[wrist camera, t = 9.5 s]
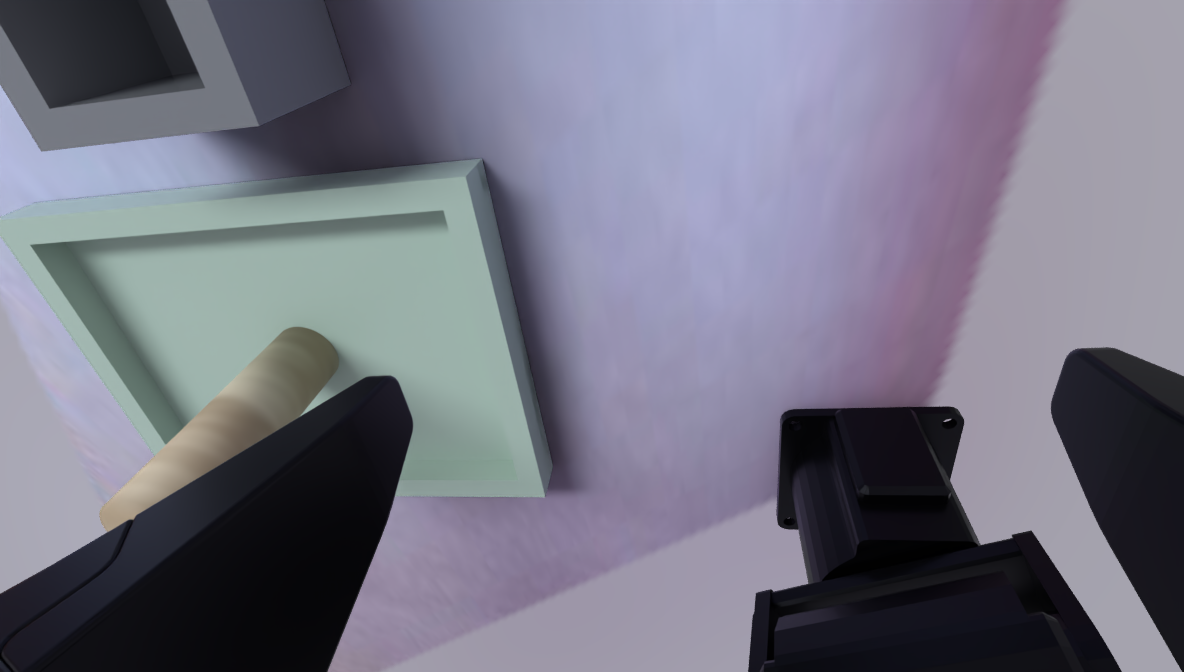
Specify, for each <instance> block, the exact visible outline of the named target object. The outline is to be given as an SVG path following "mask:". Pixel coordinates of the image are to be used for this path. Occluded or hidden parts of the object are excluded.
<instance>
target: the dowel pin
mask: <svg viewBox="0 0 1184 672" xmlns="http://www.w3.org/2000/svg"><path fill="white" fill-rule="evenodd" d="M338 366H339V358H338V354H337V352H336V350H335V348H334V347H333V345H332V344H331V343H330V342H329V341H328V340H327V339H326V338H325V337H324V336H322V335H321V334H319V333H318V332H316V331H314V330H311V329H308V328H304V327H291V328H288V329H285V330H284V331H282V332H281V333H280V334H279V335H278V336H277V337H276V338H275V339H274V340H273V341H272V342H271V343H270V344H269V345H268V346H267V347H266V348H265V349H264V350H263V351H262V352H261V353H260V354H259V355H258V356H257V357H256V358H255V359H254V360H253V361H252V362H251V363H250V364H248V365H247V366H246V367H245V368H244V369H243V370H242V371H241V372H240V373H239V374H238V375H237V376H236V377H235V378H234V379H233V380H232V381H231V382H230V383H229V384H228V385H227V386H226V387H225V388H224V389H223V390H222V391H221V392H220V393H219V394H218V395H217V396H216V397H215V398H214V399H213V400H212V401H210V402H209V403H208V404H207V405H206V406H205V407H204V408H203V409H202V410H201V411H200V412H199V413H198V414H197V415H196V416H195V417H194V418H193V419H192V420H191V421H190V422H189V423H188V424H187V425H186V426H185V427H184V428H183V429H182V430H181V431H180V432H179V433H178V434H177V435H176V436H175V437H174V438H172V439H171V440H170V441H169V442H168V443H167V444H166V445H165V446H164V447H163V448H162V449H161V450H160V451H159V452H158V453H157V454H156V455H155V456H154V457H153V458H152V459H151V460H150V461H149V462H148V463H147V464H146V465H145V466H144V467H143V468H142V469H141V470H140V471H139V472H138V473H137V474H135V475H134V476H133V477H132V478H131V479H130V480H129V481H128V482H127V483H126V484H125V485H124V486H123V487H122V488H121V489H120V490H119V491H118V492H117V493H116V494H115V495H114V496H113V497H112V498H111V499H110V500H109V501H108V502H107V503H106V504H105V505H104V506H103V507H102V508H101V510H100V520H101V523H102V525H103V526H104V528H105V529H106V531H107V532H109V531H110V530H112V529H114V528H115V527H117V526H119V525H120V524H122V523H124V522H125V521H127V520H129V519H133V520H134V518H135V516H136V515H137V514H139V513H141V512H142V511H144V510H146V509H147V508H149V507H151V506H152V505H154V504H155V503H157V502H159V501H160V500H162V499H164V498H165V497H167V496H169V495H170V494H172V493H174V492H175V491H177V490H179V489H180V488H182V487H184V486H185V485H187V484H189V483H190V482H192V481H194V480H195V479H197V478H199V477H200V476H202V475H204V474H205V473H207V472H209V471H210V470H212V469H214V468H215V467H217V466H219V465H220V464H222V463H224V462H225V461H227V460H229V459H230V458H232V457H233V456H235V455H237V454H238V453H240V452H242V451H243V450H245V449H247V448H248V447H250V446H252V445H253V444H255V443H257V442H258V441H260V440H262V439H263V438H265V437H267V436H268V435H270V434H272V433H273V432H275V431H277V430H278V429H280V428H282V427H283V426H285V425H287V424H288V423H290V422H292V421H293V420H295V419H297V418H298V417H300V416H301V414H302V413H303V412H304V411H305V410H306V408H307V407H308V406H309V405H310V403H311V402H312V401H313V400H314V398H315V397H316V396H317V395H318V393H319V392H320V391H321V390H322V389H323V387H324V386H325V385H326V384H327V382H328V381H329V380H330V379H331V377H332V376H333V375H334V374H335V372H336V371H337V369H338Z"/></svg>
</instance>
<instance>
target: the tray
mask: <svg viewBox="0 0 1184 672" xmlns="http://www.w3.org/2000/svg"><path fill="white" fill-rule="evenodd" d="M0 236H1V238H2V239H3V241H4V242H5V244H6V245H7V246H8V248H9V249H10V251H11V252H12V254H13V255H14V256H15V258H16V259H17V261H18V262H19V264H20V265H21V266H22V268H23V269H24V271H25V272H26V274H27V275H28V276H29V278H30V279H31V281H32V282H33V283H34V285H35V286H36V288H37V289H38V291H39V292H40V293H41V295H42V296H43V298H44V299H45V301H46V302H47V303H48V305H49V306H50V308H51V309H52V311H53V312H54V313H55V315H56V316H57V318H58V319H59V321H60V322H61V323H62V325H63V326H64V328H65V329H66V331H67V332H68V333H69V335H70V336H71V338H72V339H73V341H74V342H75V343H76V345H77V346H78V348H79V349H80V351H81V352H82V353H83V355H84V356H85V358H86V359H87V360H88V362H89V363H90V365H91V366H92V368H93V369H94V370H95V372H96V373H97V375H98V376H99V378H100V379H101V380H102V382H103V383H104V385H105V386H106V388H107V389H108V390H109V392H110V393H111V395H112V396H113V398H114V399H115V400H116V402H117V403H118V405H119V406H120V408H121V409H122V410H123V412H124V413H125V415H126V416H127V418H128V419H129V420H130V422H131V423H132V425H133V426H134V428H135V429H136V430H137V432H138V433H139V435H140V436H141V437H142V439H143V440H144V442H145V443H146V445H147V446H148V447H149V449H150V450H151V452H152V453H153V455H154V456H155V455H156V454H157V453H158V452H159V451H160V450H161V449H162V448H163V447H164V446H165V445H166V444H167V443H168V442H169V441H170V440H171V439H172V438H174V437H175V436H176V435H177V434H178V433H179V432H180V431H181V430H182V429H183V428H184V427H185V426H186V425H187V424H188V423H189V422H190V421H191V420H192V419H193V418H194V417H195V416H196V415H197V414H198V413H199V412H200V411H201V410H202V409H203V408H204V407H205V406H206V405H207V404H208V403H209V402H210V401H212V400H213V399H214V398H215V397H216V396H217V395H218V394H219V393H220V392H221V391H222V390H223V389H224V388H225V387H226V386H227V385H228V384H229V383H230V382H231V381H232V380H233V379H234V378H235V377H236V376H237V375H238V374H239V373H240V372H241V371H242V370H243V369H244V368H245V367H246V366H247V365H248V364H250V363H251V362H252V361H253V360H254V359H255V358H256V357H257V356H258V355H259V354H260V353H261V352H262V351H263V350H264V349H265V348H266V347H267V346H268V345H269V344H270V343H271V342H272V341H273V340H274V339H275V338H276V337H277V336H278V335H279V334H280V333H281V332H282V331H284V330H285V329H288V328H291V327H304V328H308V329H311V330H314V331H316V332H318V333H319V334H321V335H322V336H324V337H325V338H326V339H327V340H328V341H329V342H330V343H331V344H332V345H333V347H334V348H335V350H336V352H337V354H338V358H339V366H338V369H337V371H336V372H335V374H334V375H333V376H332V377H331V379H330V380H329V381H328V382H327V384H326V385H325V386H324V387H323V389H322V390H321V391H320V392H319V393H318V395H317V396H316V397H315V398H314V400H313V401H312V402H311V403H310V405H309V406H308V407H307V408H306V410H305V411H304V412H303V413H302V414H301V416H302V415H303V414H305V413H307V412H308V411H310V410H312V409H313V408H315V407H316V406H318V405H320V404H321V403H323V402H325V401H326V400H328V399H330V398H331V397H333V396H335V395H336V394H338V393H340V392H341V391H343V390H345V389H346V388H348V387H350V386H351V385H353V384H355V383H356V382H358V381H360V380H361V379H363V378H365V377H368V376H381V375H391V376H393V377H395V378H396V379H397V380H398V382H399V384H400V386H401V389H402V392H403V394H404V397H405V399H406V402H407V404H408V407H409V410H410V412H411V415H412V418H413V433H412V437H411V440H410V444H409V447H408V451H407V455H406V458H405V462H404V465H403V469H402V472H401V476H400V480H399V483H398V487H397V490H396V494H395V496H442V497H546V493H547V489H548V485H549V481H550V477H551V473H552V469H553V464H552V460H551V456H550V451H549V447H548V442H547V438H546V434H545V429H544V425H543V421H542V416H541V412H540V408H539V403H538V399H537V395H536V390H535V386H534V382H533V377H532V373H531V369H530V364H529V360H528V356H527V351H526V347H525V343H524V338H523V334H522V330H521V325H520V321H519V317H518V312H517V308H516V304H515V299H514V295H513V291H512V286H511V282H510V278H509V273H508V269H507V265H506V260H505V256H504V252H503V247H502V243H501V239H500V234H499V230H498V226H497V221H496V217H495V213H494V208H493V204H492V200H491V195H490V191H489V186H488V182H487V178H486V173H485V169H484V165H483V160H482V159H472V160H462V161H451V162H441V163H431V164H421V165H411V166H401V167H391V168H381V169H370V170H360V171H350V172H340V173H330V174H320V175H310V176H299V177H289V178H279V179H269V180H259V181H249V182H239V183H229V184H218V185H208V186H198V187H188V188H178V189H168V190H158V191H147V192H137V193H127V194H117V195H107V196H97V197H87V198H76V199H66V200H56V201H46V202H36V203H32V204H30V205H27V206H25V207H23V208H20V209H18V210H15V211H13V212H10V213H8V214H6V215H3V216H1V217H0Z"/></svg>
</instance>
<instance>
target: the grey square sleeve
mask: <svg viewBox="0 0 1184 672" xmlns="http://www.w3.org/2000/svg"><path fill="white" fill-rule="evenodd" d="M0 85H1V86H2V88H3V90H4V91H5V93H6V95H7V96H8V98H9V99H10V101H11V103H12V104H13V106H14V108H15V109H16V111H17V113H18V114H19V116H20V117H21V119H22V121H23V122H24V124H25V126H26V127H27V129H28V130H29V132H30V134H31V135H32V137H33V139H34V140H35V142H36V143H37V145H38V147H39V148H40V150H41V151H50V150H58V149H67V148H76V147H84V146H93V145H101V144H110V143H118V142H127V141H135V140H144V139H153V138H161V137H170V136H178V135H187V134H195V133H204V132H212V131H221V130H230V129H238V128H247V127H255V126H260V125H263V124H265V123H267V122H269V121H272V120H274V119H276V118H278V117H281V116H283V115H285V114H287V113H289V112H292V111H294V110H296V109H298V108H301V107H303V106H305V105H307V104H309V103H312V102H314V101H316V100H318V99H321V98H323V97H325V96H327V95H330V94H332V93H334V92H336V91H338V90H341V89H343V88H345V87H347V86H350V85H351V82H350V79H349V76H348V73H347V70H346V67H345V64H344V61H343V58H342V55H341V51H340V48H339V45H338V42H337V39H336V36H335V33H334V30H333V27H332V24H331V21H330V18H329V14H328V11H327V8H326V5H325V2H324V0H0Z"/></svg>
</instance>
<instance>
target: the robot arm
mask: <svg viewBox="0 0 1184 672" xmlns="http://www.w3.org/2000/svg"><path fill="white" fill-rule="evenodd" d="M1051 414H1052V418H1053V421H1054V424H1055V426H1056V428H1057V431H1058V433H1059V435H1060V438H1061V440H1062V442H1063V445H1064V447H1065V449H1066V452H1067V454H1068V456H1069V459H1070V461H1071V463H1072V466H1073V468H1074V470H1075V473H1076V475H1077V477H1078V480H1079V482H1080V484H1081V487H1082V489H1083V491H1084V494H1085V496H1086V498H1087V501H1088V503H1089V505H1090V508H1091V510H1092V512H1093V514H1094V516H1095V518H1096V521H1097V522H1098V525H1099V527H1100V529H1101V530H1102V532H1103V534H1104V536H1105V538H1106V540H1107V542H1108V543H1109V545H1110V547H1111V549H1112V550H1113V552H1114V554H1115V556H1116V557H1117V559H1118V561H1119V563H1120V564H1121V566H1122V568H1123V570H1124V571H1125V573H1126V575H1127V577H1128V578H1129V580H1130V582H1131V584H1132V585H1133V587H1134V589H1135V591H1136V592H1137V594H1138V596H1139V597H1140V599H1141V601H1142V603H1143V604H1144V606H1145V608H1146V610H1147V611H1148V613H1149V615H1150V617H1151V618H1152V620H1153V622H1154V623H1155V625H1156V627H1157V629H1158V630H1159V632H1160V634H1161V636H1162V637H1163V639H1164V641H1165V643H1166V644H1167V646H1168V648H1169V649H1170V651H1171V653H1172V655H1173V657H1174V658H1175V660H1176V662H1177V663H1178V665H1179V667H1180V669H1181V670H1182V672H1184V376H1182V375H1179V374H1177V373H1175V372H1172V371H1170V370H1167V369H1165V368H1162V367H1160V366H1157V365H1155V364H1152V363H1150V362H1147V361H1145V360H1143V359H1140V358H1138V357H1135V356H1133V355H1130V354H1128V353H1125V352H1123V351H1120V350H1118V349H1115V348H1108V347H1106V348H1081V349H1075V350H1073V351H1072V352H1070V353H1069V355H1068V356H1067V357H1066V359H1065V362H1064V365H1063V368H1062V371H1061V374H1060V377H1059V380H1058V383H1057V386H1056V389H1055V392H1054V395H1053V398H1052V402H1051ZM946 419H951V420H950V421H947V422H943V421H945V420H946ZM792 421H799V422H798V423H797V424H790V423H791V422H792ZM963 426H964V419H963V417H962V416H961V414H960V412H959V411H958V409H956V408H954V407H895V408H841V409H793V410H788V411H786V412H784V414H783V415H782V416H781V419H780V440H779V465H778V489H777V521H778V525H779V526H780V527H782V528H784V529H797V530H799V535H800V541H801V546H802V551H803V556H804V562H805V567H806V573H807V578H808V583H809V584H806V585H801V586H797V587H793V588H788V589H784V590H779V591H775V592H773V591H772V590H766V591H762V592H758V593H756V600H755V612H754V614H753V620H752V632H751V644H750V656H749V669H748V672H1122V671H1121V670H1120V668H1119V666H1118V664H1117V662H1116V661H1115V659H1114V657H1113V655H1112V654H1111V652H1110V650H1109V649H1108V647H1107V645H1106V643H1105V642H1104V640H1103V638H1102V637H1101V636H1100V634H1099V632H1098V630H1097V629H1096V627H1095V626H1094V624H1093V622H1092V621H1091V620H1090V618H1089V616H1088V615H1087V613H1086V612H1085V611H1084V609H1083V607H1082V606H1081V604H1080V603H1079V601H1078V600H1077V598H1076V597H1075V595H1074V594H1073V592H1072V591H1071V589H1070V588H1069V586H1068V585H1067V583H1066V582H1065V580H1064V579H1063V577H1062V576H1061V574H1060V573H1059V571H1058V570H1057V568H1056V567H1055V565H1054V564H1053V562H1052V561H1051V559H1050V558H1049V556H1048V555H1047V553H1046V552H1045V550H1044V549H1043V547H1042V546H1041V544H1040V543H1039V541H1038V540H1037V538H1036V537H1035V535H1034V534H1033V532H1032V531H1027V532H1023V533H1018V534H1014V535H1012V537H1013V538H1011V539H1006V540H1002V541H997V542H993V543H988V544H984V545H980V543H979V541H978V538H977V536H976V534H975V532H974V530H973V528H972V526H971V524H970V522H969V520H968V518H967V516H966V513H965V511H964V509H963V507H962V505H961V503H960V501H959V499H958V497H957V495H956V493H955V491H954V489H953V486H952V484H951V482H950V478H951V474H952V470H953V466H954V462H955V458H956V454H957V450H958V446H959V442H960V438H961V434H962V430H963ZM412 433H413V418H412V415H411V412H410V410H409V407H408V404H407V402H406V399H405V397H404V394H403V392H402V389H401V386H400V384H399V382H398V380H397V379H396V378H395V377H393V376H391V375H381V376H368V377H365V378H363V379H361V380H360V381H358V382H356V383H355V384H353V385H351V386H350V387H348V388H346V389H345V390H343V391H341V392H340V393H338V394H336V395H335V396H333V397H331V398H330V399H328V400H326V401H325V402H323V403H321V404H320V405H318V406H316V407H315V408H313V409H312V410H310V411H308V412H307V413H305V414H303V415H302V416H300V417H298V418H297V419H295V420H293V421H292V422H290V423H288V424H287V425H285V426H283V427H282V428H280V429H278V430H277V431H275V432H273V433H272V434H270V435H268V436H267V437H265V438H263V439H262V440H260V441H258V442H257V443H255V444H253V445H252V446H250V447H248V448H247V449H245V450H243V451H242V452H240V453H238V454H237V455H235V456H233V457H232V458H230V459H229V460H227V461H225V462H224V463H222V464H220V465H219V466H217V467H215V468H214V469H212V470H210V471H209V472H207V473H205V474H204V475H202V476H200V477H199V478H197V479H195V480H194V481H192V482H190V483H189V484H187V485H185V486H184V487H182V488H180V489H179V490H177V491H175V492H174V493H172V494H170V495H169V496H167V497H165V498H164V499H162V500H160V501H159V502H157V503H155V504H154V505H152V506H151V507H149V508H147V509H146V510H144V511H142V512H141V513H139V514H137V515H136V516H135V518H134V520H133V519H129V520H127V521H125V522H124V523H122V524H120V525H119V526H117V527H115V528H114V529H112V530H110V531H109V532H107V533H106V534H104V535H102V536H101V537H99V538H97V539H95V540H94V541H92V542H90V543H89V544H87V545H85V546H84V547H82V548H80V549H78V550H77V551H75V552H73V553H72V554H70V555H68V556H66V557H65V558H63V559H61V560H60V561H58V562H56V563H55V564H53V565H51V566H49V567H47V568H46V569H44V570H42V571H40V572H38V573H37V574H35V575H33V576H31V577H29V578H28V579H26V580H24V581H22V582H21V583H19V584H17V585H15V586H13V587H12V588H10V589H8V590H6V591H4V592H3V593H1V594H0V672H328V669H329V667H330V664H331V662H332V659H333V657H334V654H335V652H336V649H337V647H338V644H339V642H340V639H341V637H342V634H343V632H344V629H345V627H346V624H347V622H348V619H349V617H350V614H351V612H352V609H353V607H354V604H355V602H356V599H357V597H358V594H359V592H360V589H361V587H362V584H363V582H364V579H365V577H366V574H367V572H368V569H369V567H370V564H371V562H372V559H373V557H374V554H375V552H376V549H377V547H378V544H379V542H380V539H381V537H382V534H383V531H384V529H385V526H386V523H387V521H388V517H389V514H390V511H391V508H392V505H393V501H394V498H395V494H396V490H397V487H398V483H399V480H400V476H401V472H402V469H403V465H404V462H405V458H406V455H407V451H408V447H409V444H410V440H411V437H412Z"/></svg>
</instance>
